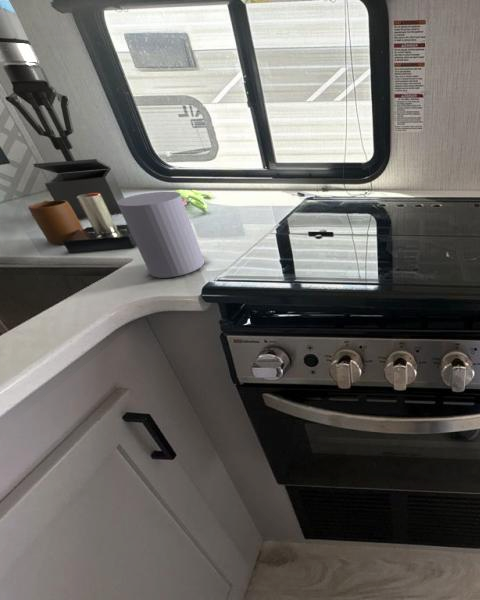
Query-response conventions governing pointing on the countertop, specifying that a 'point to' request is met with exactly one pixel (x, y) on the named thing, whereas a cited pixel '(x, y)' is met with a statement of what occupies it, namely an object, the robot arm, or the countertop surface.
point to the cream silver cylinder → (97, 213)
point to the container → (162, 233)
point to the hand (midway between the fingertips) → (70, 161)
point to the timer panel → (100, 240)
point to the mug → (56, 220)
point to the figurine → (196, 196)
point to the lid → (73, 166)
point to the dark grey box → (86, 189)
